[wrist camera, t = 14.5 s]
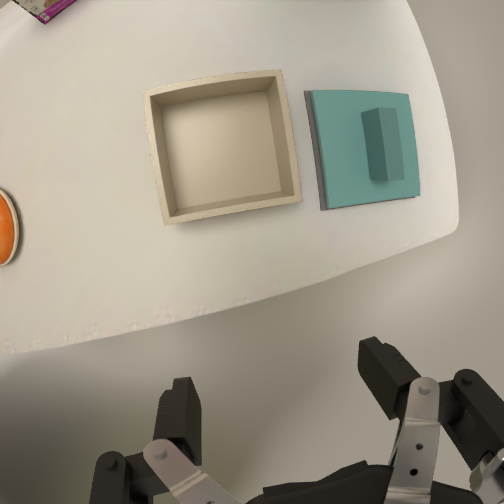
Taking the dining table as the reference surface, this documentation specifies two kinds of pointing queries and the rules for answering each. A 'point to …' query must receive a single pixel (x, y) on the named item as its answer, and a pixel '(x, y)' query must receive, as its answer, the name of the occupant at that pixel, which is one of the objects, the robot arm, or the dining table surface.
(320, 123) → the lid
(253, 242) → the dining table surface
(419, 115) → the dining table surface
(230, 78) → the storage box
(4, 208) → the stacking toy
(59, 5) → the candy bar box
